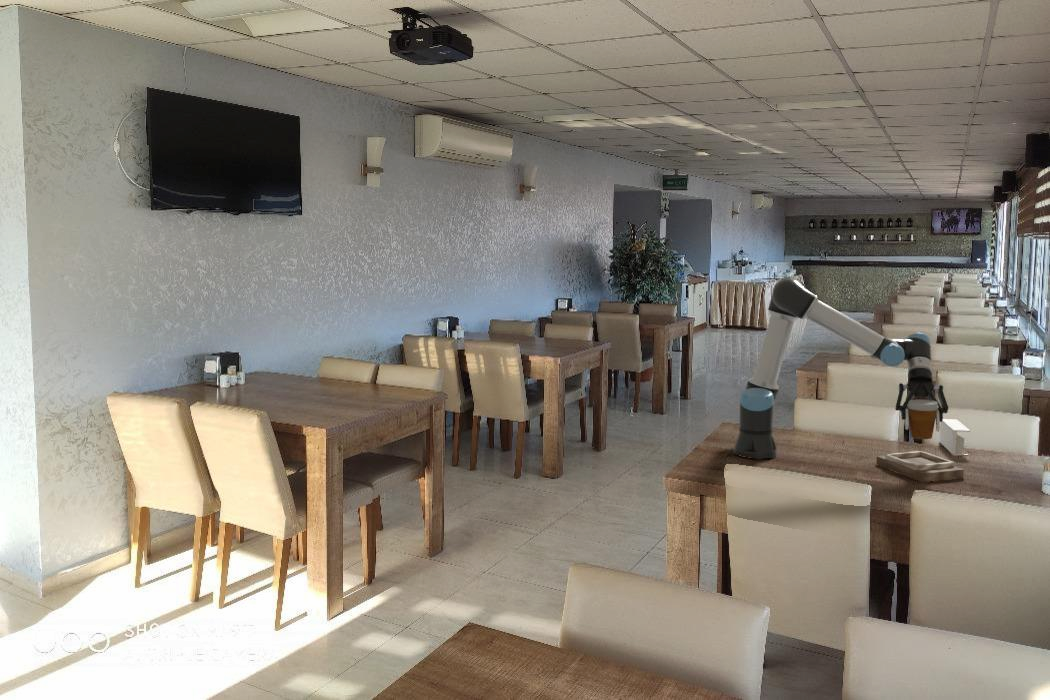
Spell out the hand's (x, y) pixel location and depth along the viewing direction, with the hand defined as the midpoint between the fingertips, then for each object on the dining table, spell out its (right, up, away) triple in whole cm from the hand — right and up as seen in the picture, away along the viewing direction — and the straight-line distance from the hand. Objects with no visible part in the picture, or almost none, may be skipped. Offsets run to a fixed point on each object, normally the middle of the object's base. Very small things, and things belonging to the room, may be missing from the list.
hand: (922, 428), depth 272 cm
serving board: (+1, -15, +5) cm, 16 cm away
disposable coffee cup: (+1, -4, +3) cm, 5 cm away
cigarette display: (+28, -11, +34) cm, 45 cm away
